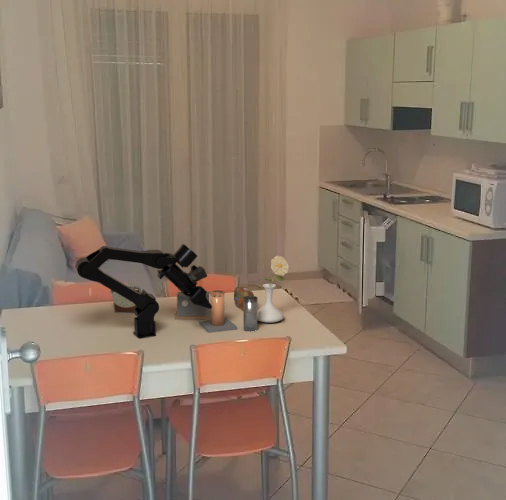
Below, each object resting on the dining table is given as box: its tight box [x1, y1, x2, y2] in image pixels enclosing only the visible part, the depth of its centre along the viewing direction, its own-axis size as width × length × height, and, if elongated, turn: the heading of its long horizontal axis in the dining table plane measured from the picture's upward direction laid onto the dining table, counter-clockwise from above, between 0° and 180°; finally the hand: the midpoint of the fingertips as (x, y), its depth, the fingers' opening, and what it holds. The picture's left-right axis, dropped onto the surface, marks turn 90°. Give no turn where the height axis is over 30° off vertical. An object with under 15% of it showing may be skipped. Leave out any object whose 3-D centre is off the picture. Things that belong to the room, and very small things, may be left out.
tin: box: [233, 286, 255, 312], centre depth 275 cm, size 15×3×8 cm, turn 25°
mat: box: [198, 317, 238, 334], centre depth 254 cm, size 11×11×1 cm
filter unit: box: [174, 291, 211, 321], centre depth 265 cm, size 14×8×9 cm, turn 92°
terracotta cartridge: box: [210, 289, 225, 326], centre depth 252 cm, size 5×5×12 cm
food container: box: [109, 284, 142, 315], centre depth 271 cm, size 12×6×10 cm, turn 84°
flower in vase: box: [257, 255, 290, 323], centre depth 259 cm, size 13×11×25 cm
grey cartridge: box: [242, 295, 258, 333], centre depth 250 cm, size 5×5×12 cm
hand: (207, 304), depth 251 cm, fingers open, 9 cm apart
